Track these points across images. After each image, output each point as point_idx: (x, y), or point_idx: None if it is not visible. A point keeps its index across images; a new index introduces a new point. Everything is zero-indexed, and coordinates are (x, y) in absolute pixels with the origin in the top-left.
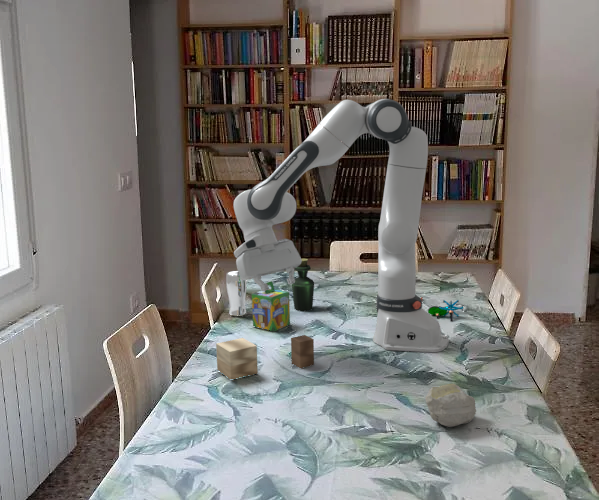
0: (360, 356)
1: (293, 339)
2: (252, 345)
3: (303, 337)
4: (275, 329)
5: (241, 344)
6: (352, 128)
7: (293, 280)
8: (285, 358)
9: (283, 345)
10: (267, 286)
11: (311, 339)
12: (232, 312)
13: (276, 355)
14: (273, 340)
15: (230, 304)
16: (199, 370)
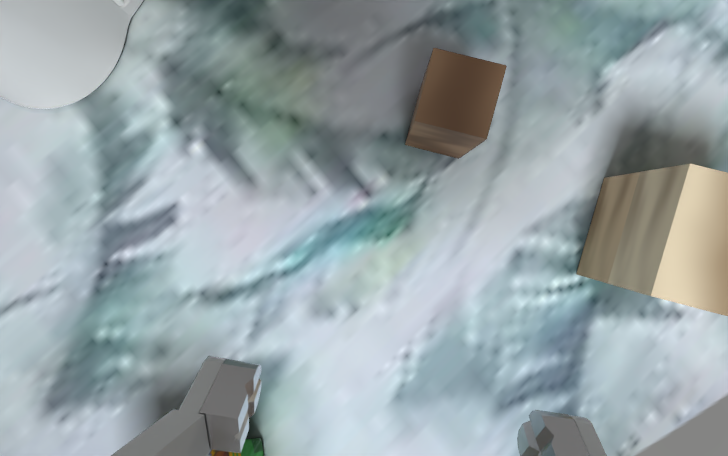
0: (255, 20)
1: (491, 118)
2: (700, 180)
3: (445, 98)
4: (248, 441)
5: (721, 230)
6: None
7: (221, 367)
8: (435, 210)
9: (342, 307)
10: (557, 431)
11: (443, 51)
12: None
13: (433, 255)
14: (326, 373)
15: None
16: (703, 356)
